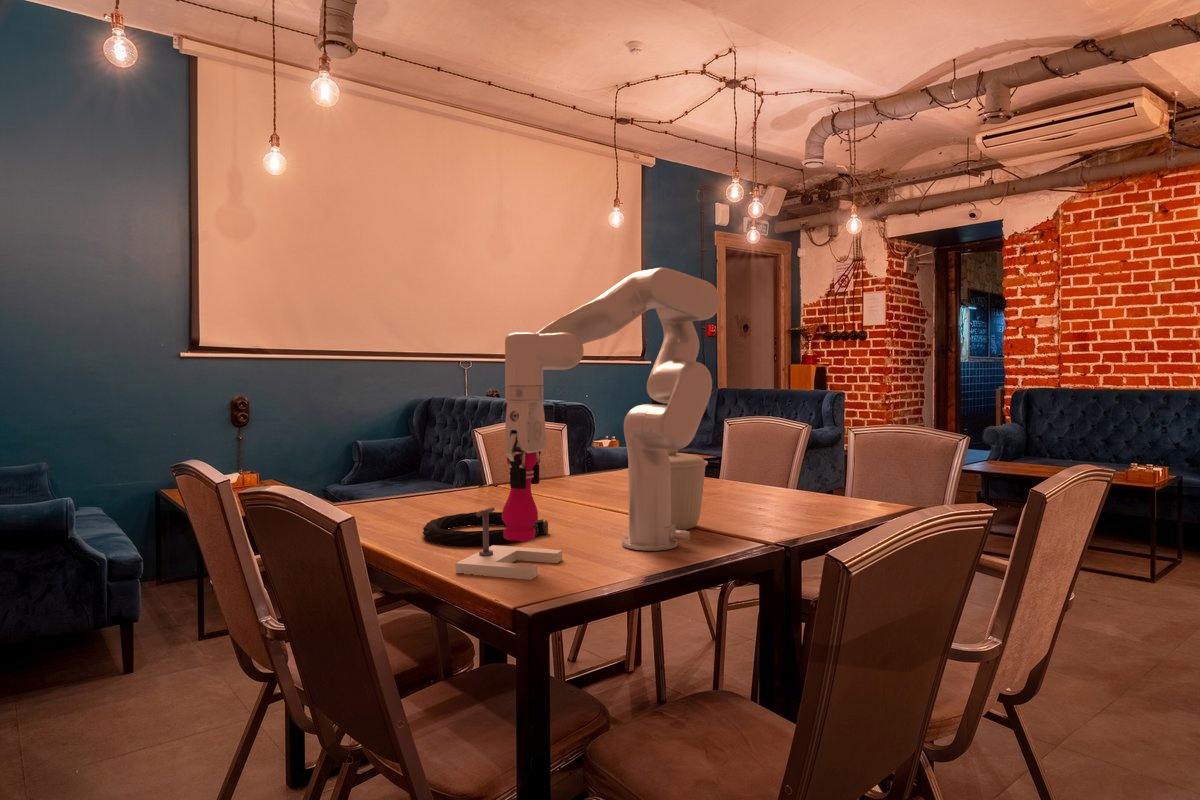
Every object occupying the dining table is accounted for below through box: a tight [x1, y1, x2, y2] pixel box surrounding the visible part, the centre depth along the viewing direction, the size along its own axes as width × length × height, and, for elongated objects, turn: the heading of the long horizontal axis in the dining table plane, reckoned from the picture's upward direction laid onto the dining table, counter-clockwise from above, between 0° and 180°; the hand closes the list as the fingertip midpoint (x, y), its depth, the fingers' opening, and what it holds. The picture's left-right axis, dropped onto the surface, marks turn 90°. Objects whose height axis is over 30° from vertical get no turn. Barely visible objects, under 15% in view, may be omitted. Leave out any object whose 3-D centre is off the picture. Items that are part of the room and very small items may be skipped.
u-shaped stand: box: [455, 506, 563, 581], centre depth 153 cm, size 16×16×11 cm
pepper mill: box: [501, 449, 539, 542], centre depth 152 cm, size 7×7×20 cm
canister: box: [666, 449, 709, 530], centre depth 190 cm, size 18×18×21 cm
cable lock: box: [422, 511, 549, 548], centre depth 184 cm, size 28×4×30 cm
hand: (525, 485), depth 151 cm, fingers closed on pepper mill, 5 cm apart
